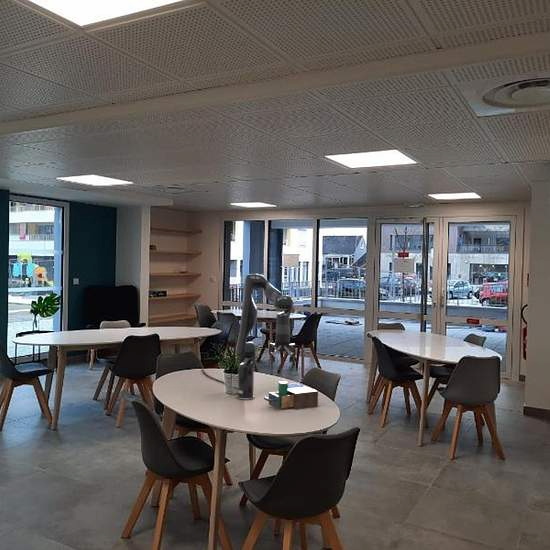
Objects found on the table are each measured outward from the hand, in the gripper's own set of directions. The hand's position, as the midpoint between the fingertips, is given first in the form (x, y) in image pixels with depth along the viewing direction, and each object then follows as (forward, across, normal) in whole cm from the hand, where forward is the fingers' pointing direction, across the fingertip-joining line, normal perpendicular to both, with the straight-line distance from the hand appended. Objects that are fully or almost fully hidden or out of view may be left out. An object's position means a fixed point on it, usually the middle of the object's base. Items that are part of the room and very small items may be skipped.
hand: (282, 362), depth 287 cm
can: (+25, -1, -12) cm, 28 cm away
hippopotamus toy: (+27, -9, -36) cm, 46 cm away
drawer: (+26, 0, -11) cm, 29 cm away
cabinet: (+27, -12, -17) cm, 34 cm away
